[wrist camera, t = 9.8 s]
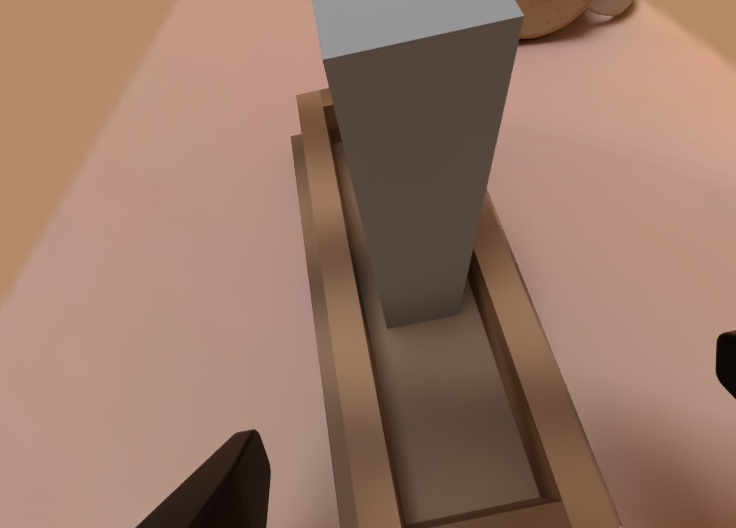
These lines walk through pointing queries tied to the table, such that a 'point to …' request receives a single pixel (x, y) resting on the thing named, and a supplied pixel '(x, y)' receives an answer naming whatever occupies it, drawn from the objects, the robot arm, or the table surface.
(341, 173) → the open rectangular wooden box
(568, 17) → the ceramic mug
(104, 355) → the table surface
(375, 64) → the tall grey pillar block
